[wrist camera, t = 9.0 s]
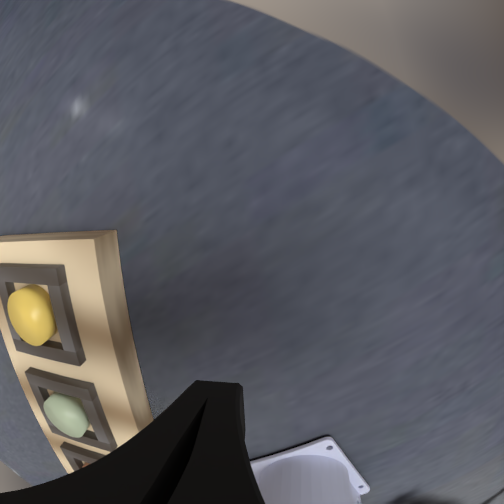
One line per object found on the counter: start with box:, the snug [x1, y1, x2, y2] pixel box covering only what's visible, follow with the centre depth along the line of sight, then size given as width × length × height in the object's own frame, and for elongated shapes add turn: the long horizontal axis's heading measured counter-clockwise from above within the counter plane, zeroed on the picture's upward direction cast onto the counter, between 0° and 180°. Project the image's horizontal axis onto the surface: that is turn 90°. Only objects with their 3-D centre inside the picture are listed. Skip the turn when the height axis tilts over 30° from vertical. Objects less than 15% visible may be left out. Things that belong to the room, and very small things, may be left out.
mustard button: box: [7, 284, 58, 346], centre depth 16 cm, size 4×4×1 cm
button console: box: [0, 230, 153, 474], centre depth 20 cm, size 25×11×3 cm, turn 2°
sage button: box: [44, 391, 91, 438], centre depth 18 cm, size 4×4×1 cm
